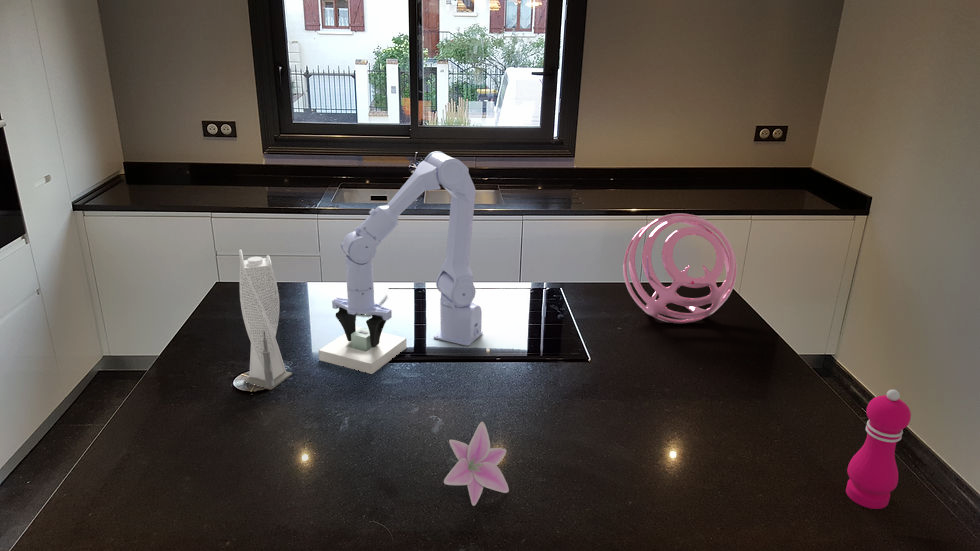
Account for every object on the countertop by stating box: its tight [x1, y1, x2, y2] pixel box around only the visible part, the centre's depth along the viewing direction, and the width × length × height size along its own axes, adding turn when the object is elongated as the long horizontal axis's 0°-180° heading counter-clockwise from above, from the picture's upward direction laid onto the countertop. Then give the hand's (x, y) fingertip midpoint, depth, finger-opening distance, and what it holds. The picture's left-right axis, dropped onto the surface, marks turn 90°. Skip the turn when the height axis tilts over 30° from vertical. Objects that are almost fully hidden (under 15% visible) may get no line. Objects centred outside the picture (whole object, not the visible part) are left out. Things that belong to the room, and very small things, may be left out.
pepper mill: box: [845, 388, 912, 510], centre depth 109 cm, size 7×7×20 cm
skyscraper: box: [238, 249, 293, 391], centre depth 141 cm, size 8×8×28 cm
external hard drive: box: [374, 292, 388, 306], centre depth 182 cm, size 2×8×12 cm
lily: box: [443, 421, 510, 507], centre depth 112 cm, size 12×12×10 cm
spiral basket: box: [622, 212, 738, 324], centre depth 176 cm, size 28×28×27 cm
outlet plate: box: [318, 325, 408, 375], centre depth 156 cm, size 14×14×2 cm
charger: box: [351, 327, 372, 352], centre depth 156 cm, size 4×4×5 cm
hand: (363, 342), depth 155 cm, fingers open, 6 cm apart
